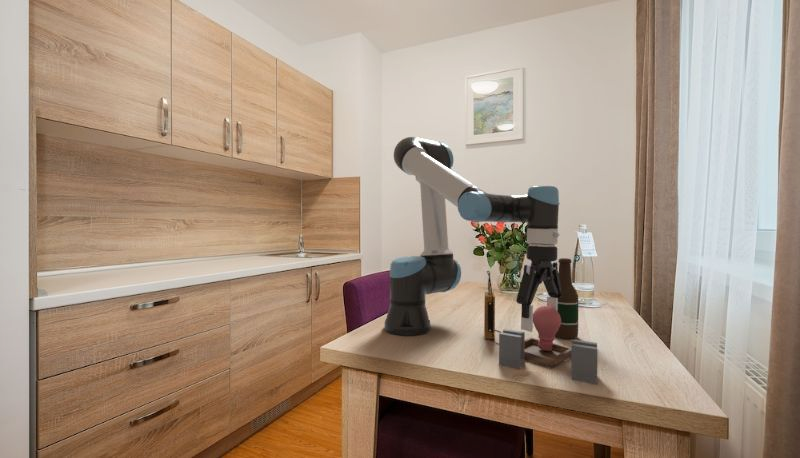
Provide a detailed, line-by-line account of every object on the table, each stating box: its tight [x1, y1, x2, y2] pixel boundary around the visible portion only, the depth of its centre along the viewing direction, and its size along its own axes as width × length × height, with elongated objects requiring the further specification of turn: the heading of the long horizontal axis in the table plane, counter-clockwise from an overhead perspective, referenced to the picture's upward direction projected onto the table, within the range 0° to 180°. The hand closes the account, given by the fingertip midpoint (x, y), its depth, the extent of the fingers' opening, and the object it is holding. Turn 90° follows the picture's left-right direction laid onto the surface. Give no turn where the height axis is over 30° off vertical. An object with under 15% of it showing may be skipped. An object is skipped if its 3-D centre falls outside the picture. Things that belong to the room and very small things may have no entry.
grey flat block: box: [570, 339, 598, 385], centre depth 78 cm, size 5×5×8 cm
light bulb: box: [533, 305, 561, 351], centre depth 94 cm, size 7×7×12 cm
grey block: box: [498, 328, 526, 370], centre depth 86 cm, size 5×5×8 cm
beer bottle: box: [555, 257, 580, 340], centre depth 108 cm, size 8×8×24 cm
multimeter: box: [483, 270, 502, 345], centre depth 106 cm, size 15×10×20 cm
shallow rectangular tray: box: [524, 337, 572, 369], centre depth 92 cm, size 12×12×2 cm
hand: (539, 325), depth 92 cm, fingers open, 13 cm apart
